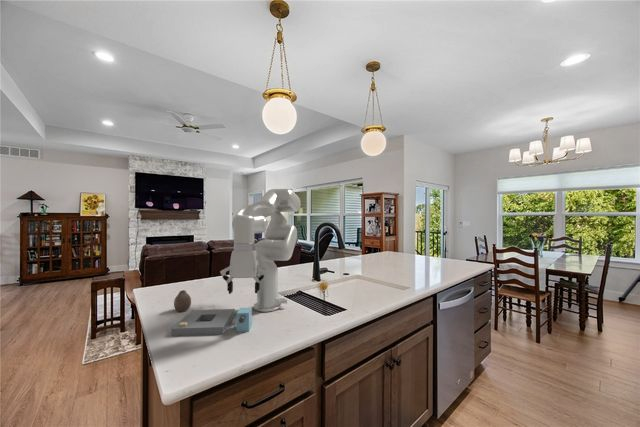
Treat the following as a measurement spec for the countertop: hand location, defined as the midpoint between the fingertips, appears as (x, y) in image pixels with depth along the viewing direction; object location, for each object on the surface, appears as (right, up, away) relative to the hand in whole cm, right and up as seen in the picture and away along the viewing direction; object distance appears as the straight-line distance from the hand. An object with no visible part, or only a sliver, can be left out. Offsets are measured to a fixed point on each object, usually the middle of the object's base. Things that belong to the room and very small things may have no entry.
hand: (243, 292), depth 99 cm
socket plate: (-16, -14, +4) cm, 22 cm away
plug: (0, -14, -1) cm, 14 cm away
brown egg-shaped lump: (-33, -14, +19) cm, 41 cm away
